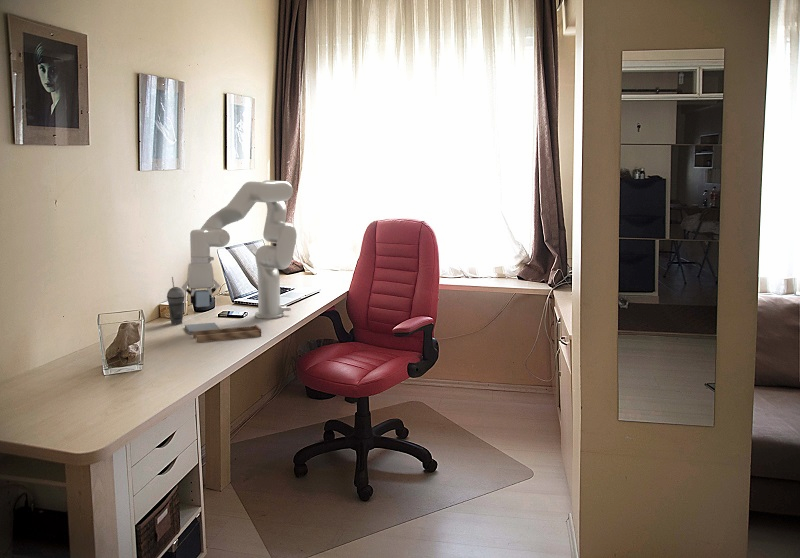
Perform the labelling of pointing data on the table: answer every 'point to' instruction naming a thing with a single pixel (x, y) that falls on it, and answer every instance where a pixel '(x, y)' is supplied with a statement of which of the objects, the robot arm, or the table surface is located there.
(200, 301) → the block
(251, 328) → the channel
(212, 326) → the pad
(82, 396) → the table surface
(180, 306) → the beverage cup
